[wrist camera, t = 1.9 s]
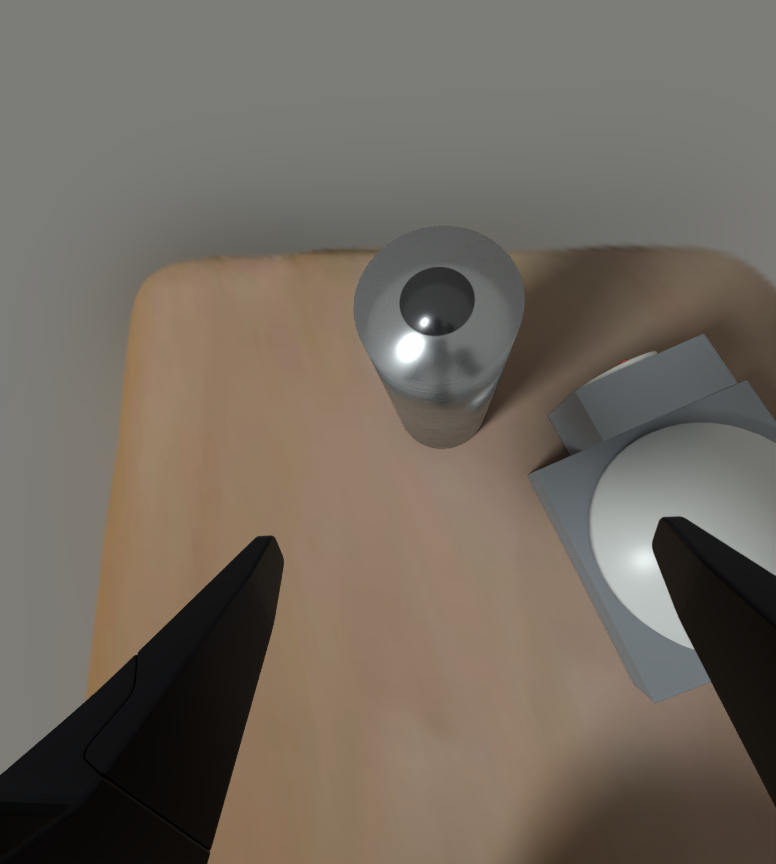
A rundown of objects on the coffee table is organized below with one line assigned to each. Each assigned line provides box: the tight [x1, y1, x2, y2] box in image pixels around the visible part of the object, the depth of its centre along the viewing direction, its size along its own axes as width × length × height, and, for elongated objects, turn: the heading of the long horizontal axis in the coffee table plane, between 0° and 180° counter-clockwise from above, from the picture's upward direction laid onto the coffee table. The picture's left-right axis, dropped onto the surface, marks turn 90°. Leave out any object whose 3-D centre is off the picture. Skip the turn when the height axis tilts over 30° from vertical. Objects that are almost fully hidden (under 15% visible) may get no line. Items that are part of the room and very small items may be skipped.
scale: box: [528, 333, 776, 703], centre depth 19 cm, size 11×14×5 cm
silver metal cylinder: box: [353, 226, 525, 449], centre depth 18 cm, size 5×5×12 cm
